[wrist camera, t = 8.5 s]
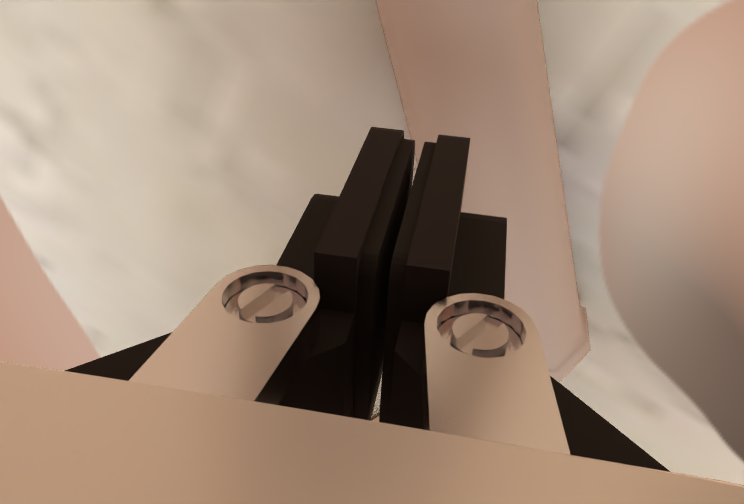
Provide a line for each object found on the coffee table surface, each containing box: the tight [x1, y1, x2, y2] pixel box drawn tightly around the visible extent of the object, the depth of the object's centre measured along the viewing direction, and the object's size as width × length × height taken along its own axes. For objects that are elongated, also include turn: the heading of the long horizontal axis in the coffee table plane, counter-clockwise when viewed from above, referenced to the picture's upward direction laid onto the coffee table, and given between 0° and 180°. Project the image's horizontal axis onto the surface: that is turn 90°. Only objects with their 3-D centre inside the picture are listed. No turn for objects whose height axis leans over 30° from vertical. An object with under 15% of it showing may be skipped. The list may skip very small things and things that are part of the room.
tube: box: [376, 0, 590, 382], centre depth 23 cm, size 5×5×25 cm
